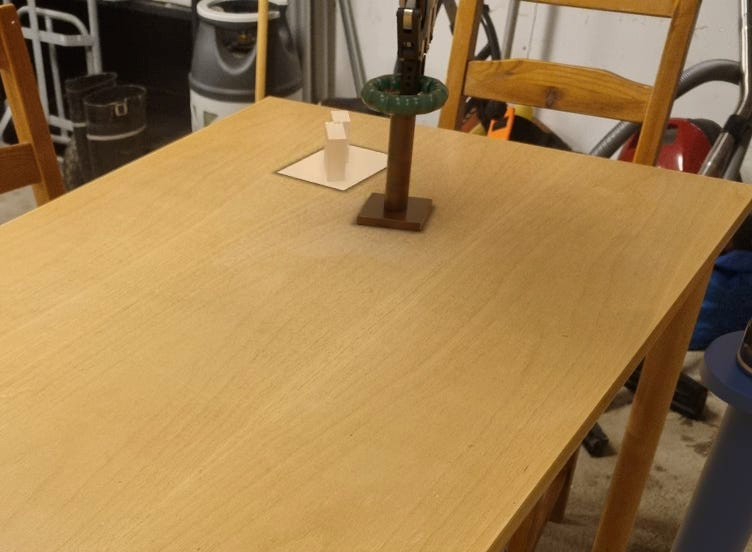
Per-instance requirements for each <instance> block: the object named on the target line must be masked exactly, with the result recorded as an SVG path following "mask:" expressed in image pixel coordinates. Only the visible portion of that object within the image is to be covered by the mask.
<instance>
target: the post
mask: <svg viewBox="0 0 752 552" xmlns="http://www.w3.org/2000/svg"><path fill="white" fill-rule="evenodd" d="M389 116H390V117H389V130H388V144H387V154H388V155H387V167H386V170H385V182H384V193H383V192H373V191H372V192H371V193H370V195H369V197H368V198H367V200H366V201H365V202H364V204H363V206H362V208H361V209H360V211H359V212H358V214H357V216H356V217H357V218H356V224H357V225H364V226H372V227H380V228H390V229H398V230H399V229H400V230H406V231H416V232H420V231H421V230H422V228H423V225H424V223H425V221H426V220H427V217H428V215H429V213H430V211H431V209H432V207H433V198H427V197H417V196H410V185H411V172H412V165H413V164H412V162H413V153H414V142H415V141H414V140H415V130H416V119H417V115H413V116H400V115H389Z"/></svg>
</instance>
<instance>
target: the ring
mask: <svg viewBox="0 0 752 552" xmlns="http://www.w3.org/2000/svg"><path fill="white" fill-rule="evenodd" d="M400 81H401V72H400V73H390V74H382V75H379V76H376V77H373V78H370V79H368V80H367V82H366V83H365V84H364V85H363V87H362V89H361V90H360V99H361V101H362V102H363V103H364V105H366V107H367V108H368V109H369V110H372V111H374V112H378V113H381V114H385V115H389V116H390V115H400V116H413V115H416V116H421V115H427V114H431V113H433V112H436V111H439V110H441V109H442V108H444V106H445V105H446V103H447V101H448V99H449V96H450V90H449V88H448V86H447V85H446V84H444V83H443V82H442V81H441V80H440V79H439V78H435V77H432V76H428V75H425V74H424V75H421V76H420V84H419V93H418V95H410V96H405V95H400Z"/></svg>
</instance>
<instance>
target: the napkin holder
mask: <svg viewBox="0 0 752 552" xmlns="http://www.w3.org/2000/svg"><path fill="white" fill-rule="evenodd" d="M350 137H351V118H350V115H349V111H348V110H330V121H325V122H324V142H323V144H324V145H323V149H321V150H319V151H317V152H315V153H313V154H311V155H309V156H307V157H305V158H303V159H301V160H299V161H297V162H295V163H293V164H290V165H289V166H287V167H285V168H283V169H281V170H279V171H277V173H278V174H280V175H285V176H288V177H291V178H296V179H300V180H303V181H306V182H311V183H314V184H318V185H321V186H326V187H329V188H333V189H336V190H340V191H346V190H348V189H349V188H351V187H353V186H354V185H357V184H359V183H360V182H362V181H363V180H366V179H367V178H369V177H371V176H373V175H375V174H376V173H378V172H380V171H382V170H383V169H385V168H387V155H388V153H383V152H379V151H376V150H372V149H367V148H364V147H359V146H356V145H355V146H354V145H351V144H350V140H351V138H350Z"/></svg>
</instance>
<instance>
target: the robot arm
mask: <svg viewBox="0 0 752 552" xmlns="http://www.w3.org/2000/svg"><path fill="white" fill-rule="evenodd" d="M438 5H439V0H398V7H397V10H396V13H395V17H396V42H397V44H396V45H397V51H396V55H397V59H400V61H401V69H400V73H401V81H400V93H399V95H405V96H410V95H419V94H418V93H419V84H420V76H421V75H425V71H426V61H427V60H426V59H427V55H428V53H429V51H430V46H431V45H430V44H432V41H433V39H434V35H433V34H434V29H435V26H436V19H437V18H436V16H437V12H438V11H437V10H438ZM746 330H747V331H746ZM745 333H746V334H745ZM745 333H744V337H743V340H742V343H741V346H740V347H739V349H738V352H737V355H736V359H735V360H736V364H737V366H738V367H739V369H740V370H741V371H742V372H743V373H744V374H746V375H747V376H748V377H750V378H752V317H751V318H750V320H749V321H748V322H747V325H746V328H745Z"/></svg>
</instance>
